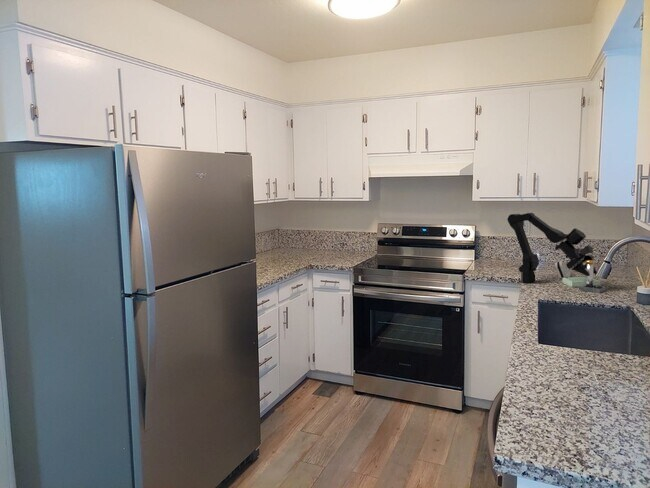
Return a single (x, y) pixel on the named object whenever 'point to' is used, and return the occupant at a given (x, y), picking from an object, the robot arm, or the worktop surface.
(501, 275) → the worktop surface
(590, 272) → the lock pin
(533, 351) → the worktop surface
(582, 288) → the tensioner block
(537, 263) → the robot arm
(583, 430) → the worktop surface
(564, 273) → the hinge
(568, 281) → the parts tray
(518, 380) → the worktop surface
